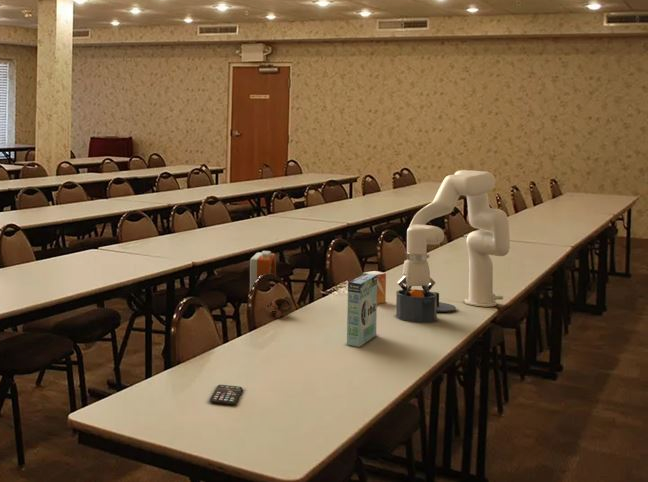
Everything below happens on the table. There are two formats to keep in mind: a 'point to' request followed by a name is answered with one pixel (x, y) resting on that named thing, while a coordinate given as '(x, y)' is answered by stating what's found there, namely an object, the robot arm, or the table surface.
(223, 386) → the black calculator
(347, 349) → the table surface
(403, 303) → the pot
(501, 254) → the robot arm
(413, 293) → the ball
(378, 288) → the small box
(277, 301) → the orange grey twisted loop
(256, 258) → the alarm clock
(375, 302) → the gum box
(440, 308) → the lid
